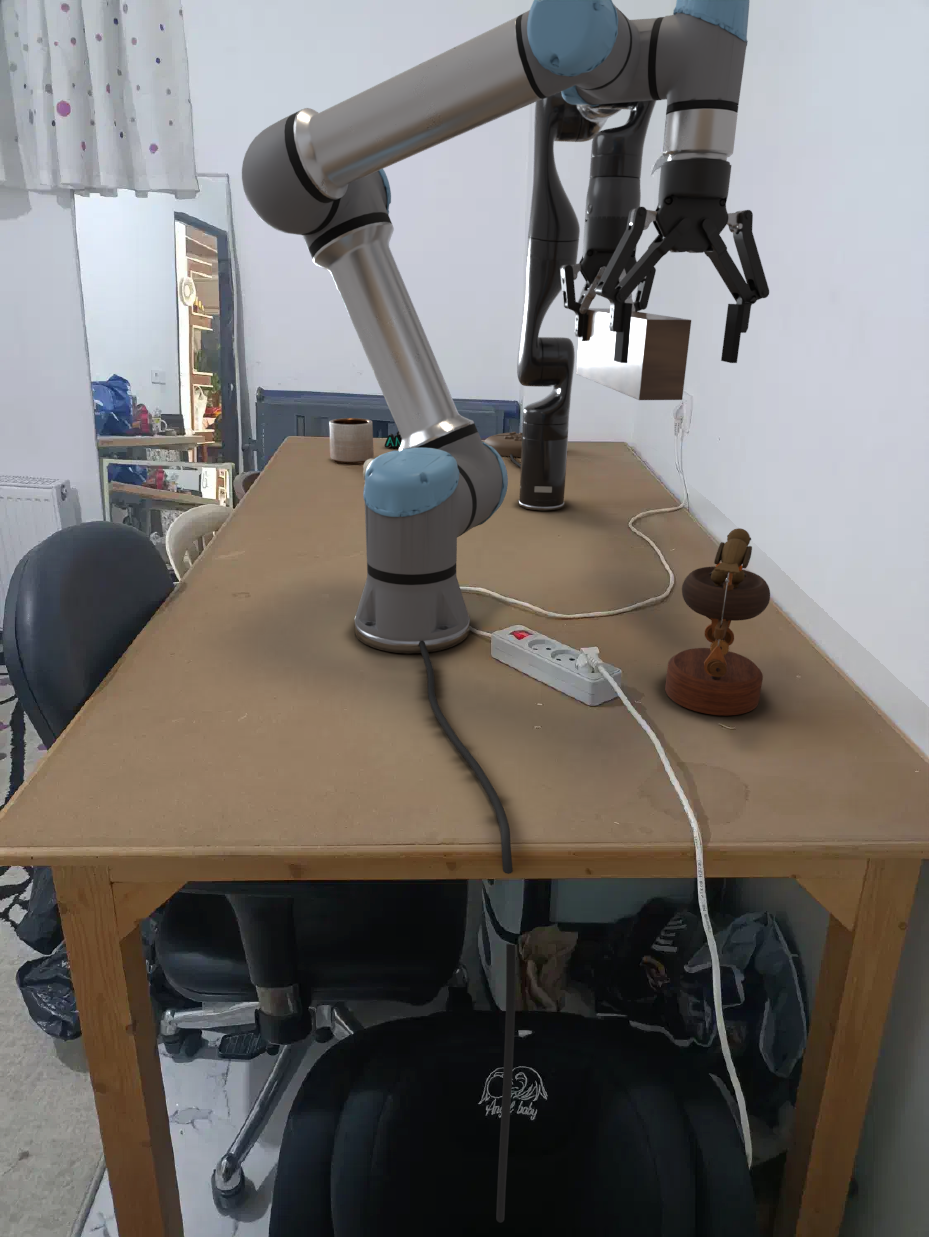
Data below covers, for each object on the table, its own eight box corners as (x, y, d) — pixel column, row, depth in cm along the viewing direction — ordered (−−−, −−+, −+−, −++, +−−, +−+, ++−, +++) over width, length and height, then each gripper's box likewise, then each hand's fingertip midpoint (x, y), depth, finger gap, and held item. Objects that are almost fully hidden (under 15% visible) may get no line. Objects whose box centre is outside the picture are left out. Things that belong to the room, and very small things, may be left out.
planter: (327, 456, 217) (325, 418, 214) (369, 454, 220) (368, 417, 217) (334, 465, 208) (332, 425, 204) (377, 463, 211) (376, 424, 207)
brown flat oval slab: (489, 466, 209) (490, 449, 208) (482, 444, 235) (482, 429, 234) (574, 466, 210) (575, 449, 209) (557, 445, 236) (558, 430, 234)
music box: (777, 726, 90) (790, 547, 83) (671, 726, 92) (676, 550, 84) (748, 664, 104) (758, 507, 97) (657, 666, 106) (660, 510, 98)
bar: (682, 400, 106) (691, 319, 102) (639, 400, 105) (646, 319, 101) (611, 374, 130) (617, 308, 127) (576, 374, 130) (580, 308, 126)
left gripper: (785, 168, 98) (758, 359, 106) (576, 160, 94) (565, 358, 102) (820, 160, 91) (788, 365, 99) (597, 151, 87) (583, 365, 95)
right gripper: (650, 218, 123) (639, 339, 130) (555, 215, 121) (549, 338, 128) (670, 215, 117) (657, 343, 123) (570, 212, 114) (562, 343, 121)
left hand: (675, 362), depth 101 cm, fingers open, 13 cm apart
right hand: (602, 340), depth 125 cm, fingers closed on bar, 5 cm apart
